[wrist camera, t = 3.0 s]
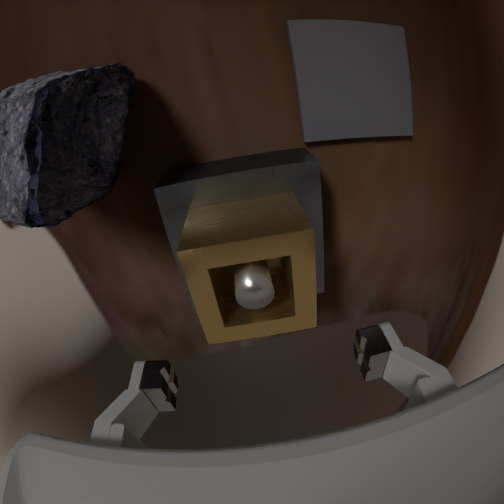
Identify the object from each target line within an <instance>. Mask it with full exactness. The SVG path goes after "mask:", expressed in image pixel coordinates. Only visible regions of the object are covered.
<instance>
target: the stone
mask: <svg viewBox="0 0 504 504" xmlns="http://www.w3.org/2000/svg"><path fill="white" fill-rule="evenodd" d="M119 77H120V78H119ZM118 78H119V79H118ZM117 79H118V80H117ZM94 80H95V81H94ZM133 87H134V73H133V72H132V71H131V70H130V69H128V67H126V66H122V64H121V63H118V64H108V65H106V66H101V67H95V68H94V67H90V68H88V69H78V70H75V71H72V72H61V71H59V72H55V73H50V74H47V75H44V76H40V77H39V78H37V79H34V78H31V79H29V80H27V81H26V82H24V83H19V84H17V85H13V86H11V87H9V88H7V89H4V90H3V91H2V92H1V93H0V218H1V219H2V220H4V221H9V222H12V223H15V224H18V225H22V226H26V227H30V228H33V227H46V226H56V225H58V224H60V223H61V222H63V221H64V220H67V219H68V218H69V217H73V216H72V215H73V214H74V213H75V212H76V211H78V210H81V209H83V208H85V207H87V206H88V205H91V204H94V202H95V201H97V200H100V199H102V198H103V197H104V196H106V195H107V194H109V193H111V190H112V187H113V185H114V183H115V181H116V180H117V178H118V173H119V167H120V161H121V160H120V155H121V153H122V152H123V149H124V136H125V131H126V126H127V125H126V123H127V119H128V114H129V107H130V102H131V96H132V94H133ZM47 106H49V107H47ZM133 107H134V106H133ZM43 116H46V117H47V121H46V122H45V121H41V118H42V117H43ZM87 164H88V165H92V168H90V167H89V166H87Z"/></svg>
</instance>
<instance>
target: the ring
mask: <svg viewBox="0 0 504 504" xmlns="http://www.w3.org/2000/svg"><path fill="white" fill-rule="evenodd" d="M177 254H178V258H179V261H180V264H181V267H182V270H183V273H184V276H185V279H186V282H187V285H188V288H189V291H190V294H191V297H192V300H193V302H194V305H195V308H196V311H197V314H198V317H199V319H200V322H201V325H202V328H203V330H204V333H205V336H206V338H207V341H208V344H214V343H222V342H229V341H237V340H244V339H250V338H257V337H263V336H269V335H275V334H281V333H287V332H292V331H298V330H303V329H308V328H313V327H317V293H316V259H315V237H314V228H313V226H312V224H311V223H310V221H309V219H308V217H307V216H306V214H305V212H304V210H303V209H302V207H301V205H300V204H299V202H298V200H297V199H296V197H295V195H294V194H293V192H292V193H285V194H278V195H272V196H265V197H259V198H253V199H247V200H241V201H235V202H230V203H224V204H218V205H213V206H207V207H202V208H197V209H191V210H189V211H188V214H187V217H186V221H185V224H184V228H183V231H182V235H181V238H180V242H179V245H178V249H177ZM277 257H281V263H282V267H276V268H270V274H271V278H272V283H273V288H274V298H273V300H272V301H271V302H270V303H269V304H268V305H267V306H265V307H263V308H260V309H247V308H244V307H243V306H241V305H240V304H239V303H238V302H237V300H236V297H235V279H234V275H227V276H224V273H223V269H222V267H223V266H229V265H235V264H241V263H247V262H253V261H259V260H265V259H271V258H277Z"/></svg>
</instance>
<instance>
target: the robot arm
mask: <svg viewBox="0 0 504 504" xmlns="http://www.w3.org/2000/svg"><path fill="white" fill-rule="evenodd" d="M355 336H356V339H357V340H356V341H355V342H354V354H355V358H356V361H357V363H359V364H360V365H361V369H360V370H361V373H362V376H363V378H364V380H365V381H370V380H374V379H377V378H381V377H383V379H385V380H386V381H387V382H388V383H390V384H391V385H392V386H394V387H395V388H396V389H397V390H399V391H400V392H401V393H403V394H404V395H405V396H406V397H408V398H409V401H408V403H407V405H406V407H405V409H404V411H401V412H398V413H395V414H392V415H390V416H386V417H383V418H380V419H377V420H374V421H370V422H367V423H364V424H360V425H356V426H353V427H349V428H345V429H342V430H338V431H333V432H329V433H325V434H320V435H315V436H310V437H305V438H300V439H294V440H288V441H282V442H275V443H268V444H260V445H252V446H242V447H232V448H216V449H184V450H174V449H148V448H147V447H146V446H145V445H144V444H143V443H142V442H140V441H139V439H140V438H141V436H142V435H143V434H144V432H145V431H146V429H147V428H148V427H149V425H150V424H151V422H152V421H153V419H154V418H155V417H156V415H157V414H158V411H175V410H176V403H177V398H176V396H175V393H176V392H177V391H178V378H177V375H176V373H175V371H174V370H172V369H171V364H170V362H169V360H152V361H136V363H135V364H134V367H133V371H132V375H131V379H130V383H129V388H128V390H125V391H124V392H123V393H122V394H121V395H120V396H119V397H118V398H117V399H116V400H115V401H114V402H113V403H112V404H111V405H110V406H109V407H108V408H107V409H106V410H105V411H104V412H103V413H102V414H101V415H100V416H99V417H98V418H97V419H96V420H95V423H94V427H93V431H92V435H91V439H90V443H85V442H80V441H74V440H68V439H63V438H58V437H53V436H49V435H45V434H41V433H36V432H31V433H29V434H28V435H26V436H25V437H23V438H22V439H21V440H20V441H19V442H18V443H16V444H15V445H14V446H13V447H12V449H11V450H10V451H9V453H8V455H7V458H6V460H5V463H4V466H3V469H2V472H1V476H0V504H504V364H502V365H501V366H499V367H497V368H495V369H494V370H492V371H490V372H488V373H487V374H485V375H483V376H481V377H479V378H477V379H475V380H473V381H471V382H469V383H467V384H465V385H463V386H461V387H459V388H457V386H456V384H455V383H454V381H453V379H452V377H451V375H450V374H449V372H448V370H447V368H445V367H444V366H442V365H440V364H438V363H436V362H434V361H433V360H431V359H429V358H427V357H425V356H423V355H422V354H420V353H418V352H416V351H414V350H412V349H410V348H408V347H404V346H403V345H402V343H401V341H400V339H399V338H398V336H397V334H396V332H395V331H394V329H393V327H392V326H391V324H390V323H389V322H385V323H381V324H378V325H373V326H369V327H366V328H362V329H358V330H356V333H355Z"/></svg>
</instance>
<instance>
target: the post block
mask: <svg viewBox="0 0 504 504" xmlns="http://www.w3.org/2000/svg"><path fill="white" fill-rule="evenodd" d="M154 192H155V196H156V199H157V203H158V206H159V210H160V213H161V217H162V220H163V223H164V227H165V230H166V233H167V237H168V240H169V243H170V246H171V249H172V252H173V255H174V258H175V262H176V265H177V268H178V271H179V274H180V277H181V279H182V282H183V285H184V288H185V291H186V294H187V297H188V300H189V302H190V305H191V308H192V311H193V313H194V314H195V313H197V311H196V308H195V305H194V302H193V300H192V297H191V294H190V291H189V288H188V285H187V282H186V279H185V276H184V273H183V270H182V267H181V264H180V261H179V258H178V254H177V249H178V245H179V242H180V238H181V235H182V231H183V228H184V224H185V221H186V217H187V214H188V211H189V210H191V209H197V208H202V207H207V206H213V205H218V204H224V203H230V202H235V201H241V200H247V199H253V198H259V197H265V196H272V195H278V194H285V193H292V192H293V194H294V195H295V197H296V199H297V200H298V202H299V204H300V205H301V207H302V209H303V210H304V212H305V214H306V216H307V217H308V219H309V221H310V223H311V224H312V226H313V228H314V237H315V259H316V293H317V294H318V293H323V292H324V238H323V213H322V194H321V178H320V165H319V160H318V159H317V158H316V157H314V156H313V155H312V154H311V153H310V152H308V151H307V150H306V149H305V148H296V149H288V150H281V151H273V152H266V153H260V154H253V155H247V156H241V157H235V158H229V159H223V160H218V161H213V162H207V163H202V164H197V165H192V166H188V167H183V168H178V169H174V170H169V171H166V172H165V173H164V175H163V176H162V178H161V179H160V180H159V182H158V183H157V185H156V186H155V187H154ZM276 267H282V263H281V257H277V258H271V259H265V260H259V261H253V262H247V263H241V264H235V265H229V266H223V267H222V269H223V273H224V276H227V275H234V279H235V297H236V300H237V302H238V303H239V304H240V305H241V306H243V307H244V308H247V309H260V308H263V307H265V306H267V305H268V304H269V303H270V302H271V301H272V300H273V298H274V288H273V283H272V278H271V274H270V268H276Z"/></svg>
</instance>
